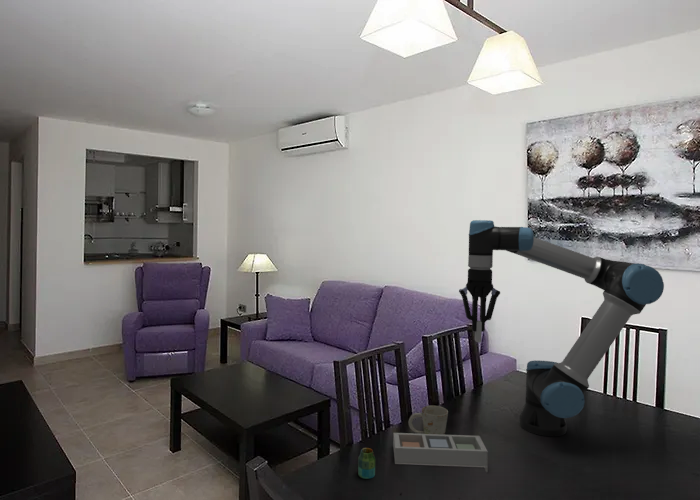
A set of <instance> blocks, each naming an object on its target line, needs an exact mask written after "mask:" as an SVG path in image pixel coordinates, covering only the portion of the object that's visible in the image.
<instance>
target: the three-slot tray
mask: <svg viewBox="0 0 700 500" xmlns="http://www.w3.org/2000/svg"><path fill="white" fill-rule="evenodd" d="M429 439H443V440H446V441H447V444H448V447H449V448H429ZM392 440H393V442H392V447H393V448H392V449H393V457H394V464H395V465H414V466H415V465H416V466H417V465H419V466H439V467H443V466H444V467H466V468H467V467H469V468H484V470H485V472H486V473H488V472H489V471H488V470H489V468H488V467H489V466H488V455H489V454H488V453H489V451H488V449H487V448H486V446H485V444H484V442H483V440H482V438H481V435H468V434H464V435H463V434H445V435H441V434H418V433H415V432H414V433H412V432H411V433H409V432H408V433H406V432H393V439H392ZM402 442H419V445H420V447H402ZM456 444H472V445H473V446H474V448H475V449H457V448H456Z"/></svg>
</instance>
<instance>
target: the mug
mask: <svg viewBox="0 0 700 500" xmlns="http://www.w3.org/2000/svg"><path fill="white" fill-rule="evenodd" d="M448 416H449V411H448V409H447V408H445V407H443V406H440V405H426V406H423V407H422V408H421V412H417V413H415V412H414V413H412V414H411V415H410V417H409V418H408V421H407V422H408V427H409V429H410V430H412V432H414V434H441V435H446V430H447V423H448ZM416 418H422V426H423V430H417V429H416V428H415V427H414V425H413V421H414V419H416Z"/></svg>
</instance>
